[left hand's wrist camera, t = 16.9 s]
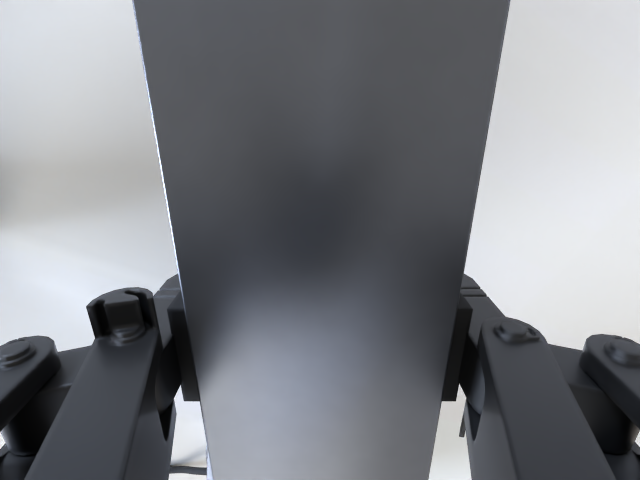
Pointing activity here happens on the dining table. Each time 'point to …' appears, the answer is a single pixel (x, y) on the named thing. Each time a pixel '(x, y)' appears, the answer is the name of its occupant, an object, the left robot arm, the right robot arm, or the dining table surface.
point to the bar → (320, 217)
